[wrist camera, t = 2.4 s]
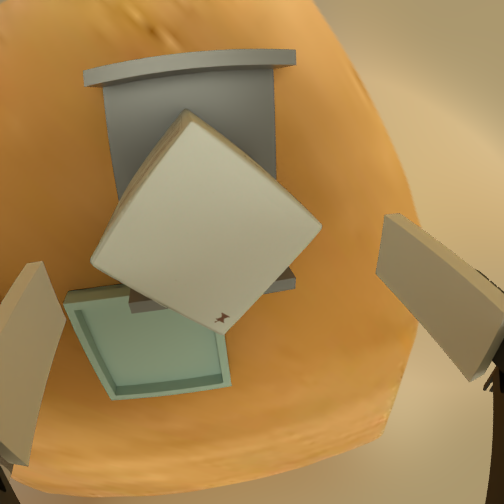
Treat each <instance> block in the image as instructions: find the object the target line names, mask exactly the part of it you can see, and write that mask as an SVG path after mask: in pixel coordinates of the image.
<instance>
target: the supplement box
mask: <svg viewBox="0 0 504 504" xmlns="http://www.w3.org/2000/svg"><path fill="white" fill-rule="evenodd" d="M321 229H322V224H321V223H320V222H319V221H318V220H317V219H316V218H315V217H314V216H313V215H312V214H311V213H310V212H309V211H308V210H307V209H306V208H305V207H304V206H303V205H302V204H301V203H300V202H299V201H298V200H297V199H296V198H295V197H294V196H293V195H291V194H290V193H289V192H288V191H287V190H286V189H285V188H284V187H283V186H282V185H281V184H280V183H279V182H277V181H276V180H275V179H274V178H273V177H272V176H271V175H270V174H269V173H268V172H266V171H265V170H264V169H263V168H262V167H261V166H260V165H259V164H258V163H256V162H255V161H254V160H253V159H252V158H251V157H249V156H248V155H247V154H246V153H245V152H243V151H242V150H241V149H240V148H238V147H237V146H236V145H235V144H233V143H232V142H231V141H230V140H228V139H227V138H226V137H224V136H223V135H222V134H221V133H219V132H218V131H217V130H215V129H214V128H213V127H211V126H210V125H208V124H207V123H206V122H204V121H203V120H201V119H200V118H199V117H197V116H196V115H195V114H193V113H192V112H191V111H189V110H188V109H186V108H185V109H184V110H183V111H182V112H181V113H180V115H179V116H178V117H177V119H176V120H175V121H174V122H173V124H172V125H171V126H170V127H169V129H168V130H167V131H166V132H165V134H164V135H163V136H162V138H161V139H160V140H159V142H158V143H157V144H156V146H155V147H154V148H153V150H152V151H151V152H150V154H149V155H148V156H147V158H146V159H145V161H144V162H143V164H142V165H141V167H140V168H139V169H138V171H137V172H136V174H135V175H134V177H133V178H132V180H131V181H130V183H129V185H128V186H127V188H126V190H125V192H124V193H123V195H122V197H121V199H120V201H119V203H118V205H117V207H116V209H115V211H114V213H113V215H112V217H111V219H110V221H109V223H108V225H107V227H106V229H105V231H104V234H103V236H102V238H101V240H100V242H99V244H98V246H97V248H96V249H95V251H94V253H93V255H92V256H91V258H90V262H91V264H92V265H93V266H94V267H95V268H97V269H98V270H100V271H102V272H104V273H105V274H107V275H109V276H110V277H112V278H114V279H116V280H118V281H120V282H121V283H123V284H125V285H126V286H128V287H130V288H132V289H133V290H135V291H137V292H139V293H141V294H143V295H144V296H146V297H148V298H150V299H152V300H153V301H155V302H157V303H159V304H160V305H162V306H164V307H166V308H168V309H170V310H172V311H174V312H176V313H178V314H180V315H182V316H184V317H186V318H188V319H190V320H192V321H194V322H196V323H198V324H200V325H202V326H204V327H206V328H208V329H210V330H212V331H214V332H216V333H217V334H219V335H224V334H225V333H226V332H227V331H228V330H229V329H230V328H231V327H232V326H233V325H234V324H235V323H236V322H237V321H238V320H239V319H240V318H241V317H242V315H243V314H244V313H245V312H246V311H247V310H248V309H249V308H250V307H251V306H252V305H253V304H254V303H255V302H256V301H257V300H258V299H259V297H260V296H261V295H262V294H263V293H264V292H265V291H266V290H267V289H268V288H269V287H270V286H271V285H272V283H273V282H274V281H275V280H276V279H277V278H278V277H279V276H280V275H281V274H282V273H283V272H284V271H285V269H286V268H287V267H288V266H289V265H290V264H291V263H292V262H293V261H294V260H295V258H296V257H297V256H298V255H299V254H300V253H301V252H302V251H303V250H304V249H305V248H306V247H307V245H308V244H309V243H310V242H311V241H312V240H313V239H314V237H315V236H316V235H317V234H318V232H319V231H320V230H321Z"/></svg>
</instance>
